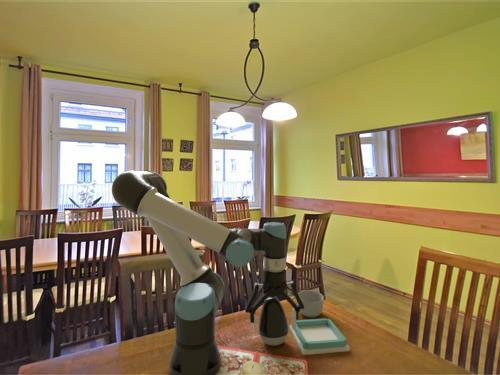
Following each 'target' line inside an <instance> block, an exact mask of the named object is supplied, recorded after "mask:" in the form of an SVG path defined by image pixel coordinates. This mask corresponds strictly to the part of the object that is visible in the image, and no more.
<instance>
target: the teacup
mask: <svg viewBox="0 0 500 375" xmlns="http://www.w3.org/2000/svg"><path fill="white" fill-rule="evenodd" d="M297 293H298V295H299V297H300V299H301V301H302V303H303V305H304V309H300V312H299V313H300V314H302V315H303V316H305V317H307V318H312V319H313V318H316V317H317V316H320V315H321V314H322V313H323V309H324V299H325V297H324V295H323V294H322V293H320V292H318V291H315V290H311V289H305V290H300V291H299V292H297ZM290 298H291V299H292V300H293V301H294V300H296V298H295V296H294V295H293V296H290ZM296 303H297V304H298V302H297V301H296ZM297 304H296V305H297Z"/></svg>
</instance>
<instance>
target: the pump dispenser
mask: <svg viewBox="0 0 500 375" xmlns="http://www.w3.org/2000/svg"><path fill="white" fill-rule="evenodd" d="M288 333H289V324H288V320H287V316H286V313H285V310H284V307H283V305H282V303H281V302H280V300H279V298H277V296H274V297H270V296H269V297H268V298H267V299H265V300H264V302H263V303H262V307H261V310H260V313H259V321H258V334H259V336H260V339H261V340H262V341H263V343H265V344H266V345H268V346H271V347H272V346H274V347H275V346H280V345H281V344H283V343H284V342H285V341H286V340H287V337H288Z"/></svg>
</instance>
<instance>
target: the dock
mask: <svg viewBox="0 0 500 375" xmlns="http://www.w3.org/2000/svg"><path fill="white" fill-rule="evenodd" d="M288 329H289V330H290V333H291V335H292V336H293V338H294V340H295V342H296V344H297V347H298V348H299V350H300V352H301V354H302V355H303V356H306V355H318V354H319V355H320V354H331V353H344V352H350V350H351V347H350V346H349V345H348V344H347V342H348V340H347V338H346V337H345V335H344V334H343V333H342V332H341V330H339V328H338V327H337V326H336V324H334V322H333V321H332V319H330V318H312V319H310V318H308V319H298V320H296V330H295V331H294V330H293V328H292V324H290V325H289V324H288Z"/></svg>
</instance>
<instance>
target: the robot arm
mask: <svg viewBox="0 0 500 375" xmlns="http://www.w3.org/2000/svg"><path fill="white" fill-rule="evenodd" d="M167 190H168V186H167V181H166V180H165V179H164V177H163V176H162V175H161V174H159V173H158V172H155V171H152V170H128V171H124V172H122V173H120V174H119V175H117V176H116V178H114V181H113V183H112V185H111V194H112V197H113V199H114V201H115V202H116V203H117V204H118V205H119V206H120V207H122V208H123V209H125V210H127V211H129V212H131V213H132V214H135V215H137V216H138V217H144V218H146V220H147V222H148V223H149V225H150V227H151V228H152V230H153V232H154V233H155V235H156V236H157V238H158V240H159V241H160V243H161V245H162V247H163V249H164V251H165V253H166V254H167V256H168V257H169V259H170V261H171V262H172V265H173V266H174V267H175V270H176V271H177V273H178V274H179V276H180V278H181V279H180V282H179V286H180V287H181V288H180V289H178V291H177V293H176V295H175V301H174V318H175V319H174V325H175V343H174V345H173V346H174V347H173V350H172V353H171V356H170V358H169V374H170V375H216V374H218V372H219V370H220V368H221V361H222V360H221V354H220V350H219V348H218V345H217V341H216V336H215V334H216V326H215V325H216V315H217V312H218V309H219V308H220V305H221V303H222V301H223V299H224V295H225V282H224V281H223V279H222V277H221V276H220V275H219V273H217V272H214V271H213V270H212V267H211V266H210V265H209V264H205V263H203V261H202V259H201V258H200V256H199V254H198V252H197V250H196V249H195V246H193V243H192V242H191V240H193V241H194V242H197V243H199V244H201V245H202V246H205V247H207V248H209V249H210V250H212V251H214V252H217V253H218V254H220V255H222V256H224V257H225V258H226V260H227V261H228V263H229V264H230V265H231V266H233V267H236V268H241V267H242V268H243V267H245V266H247V265H248V264H249V263H250V262H251V261H252V259H253V257H254V253H255V252H263V282H262V283H258V282H257V281H256V282H254V283H253V289H252V291H251V293H250V296H249V297H248V300H247V301H246V304H245V306H244V310H245V313H247V314H249V321H250V324H252V330H253V334H254V335H255V334H257V312H256V311H257V310H258V309H259V308H260V307H261V305H263V302H264V300H266V299H267V298H268V297H276V298H277V297H278V298H279V297H280V296H283V298H285V300H286V301H287V302H288V303H289V304H290V306H292V308H291V325H292V328H293V330H294V331H295V330H296V320H300V317H299V316H300V313H301V312H300V309H304V305H303V303H302V301H301V299H300V297H299V295H298V293H299V292H298V291H297V288H296V284H295V282H294V281H293V280H290V281H289V282H287V270H286V267H287V261H286V260H287V257H286V256H287V231H286V230H287V227H286V225H285V224H284V223H282V222H278V221H277V222H276V221H273V222H265V223H264V224H263V226H262V228H241V227H238V228H228V227H226V226H224V225H222V224H220V223H218V222H216V221H214V220H212V219H210V218H209V217H206V216H204V215H203V214H200V213H198V212H196V211H195V210H192V209H191V208H189V207H186V206H185V205H183V204H181V203H179V202H177V201H175V200H173V199H171V197H170V195H169V194H168V192H167ZM190 239H191V240H190ZM287 287H288V288H287ZM261 289H263V291H262V292H261V294H260V295H259V296H258V294H259V291H260V290H261ZM286 289H290V290H291V292H292V294H293V296H295V298H296V299H295V300H296V302H295V301H294V299H293V300H292V299H291V296H290V295H289V294H288V293H287V291H285V290H286ZM257 296H258V298H257ZM256 298H257V299H256ZM297 302H298V304H296V303H297Z"/></svg>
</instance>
